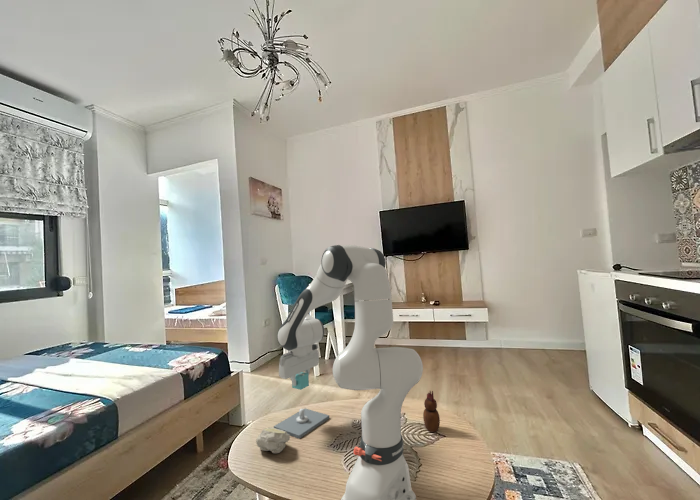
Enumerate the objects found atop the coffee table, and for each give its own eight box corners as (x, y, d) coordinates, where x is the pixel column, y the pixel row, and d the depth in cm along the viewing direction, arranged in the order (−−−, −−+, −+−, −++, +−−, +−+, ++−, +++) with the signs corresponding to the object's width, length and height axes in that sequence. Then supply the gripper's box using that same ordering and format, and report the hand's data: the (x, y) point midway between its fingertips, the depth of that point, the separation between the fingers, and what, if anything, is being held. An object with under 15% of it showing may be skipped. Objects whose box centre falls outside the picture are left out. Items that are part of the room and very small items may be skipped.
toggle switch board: (299, 438, 119) (298, 423, 119) (273, 429, 127) (273, 414, 127) (329, 418, 133) (328, 404, 134) (304, 411, 141) (304, 398, 142)
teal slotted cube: (300, 389, 127) (300, 376, 128) (292, 387, 130) (291, 374, 130) (308, 385, 131) (308, 372, 132) (300, 383, 134) (299, 370, 134)
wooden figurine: (442, 434, 117) (439, 392, 118) (426, 434, 117) (423, 393, 118) (437, 424, 124) (435, 385, 124) (422, 425, 124) (420, 386, 124)
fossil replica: (261, 442, 118) (252, 462, 108) (258, 421, 117) (248, 438, 107) (293, 439, 117) (287, 457, 107) (290, 417, 117) (284, 433, 107)
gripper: (285, 356, 121) (287, 393, 121) (320, 343, 138) (322, 376, 137) (274, 354, 125) (275, 390, 124) (309, 342, 142) (311, 373, 141)
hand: (300, 382), depth 131 cm, fingers closed on teal slotted cube, 5 cm apart
